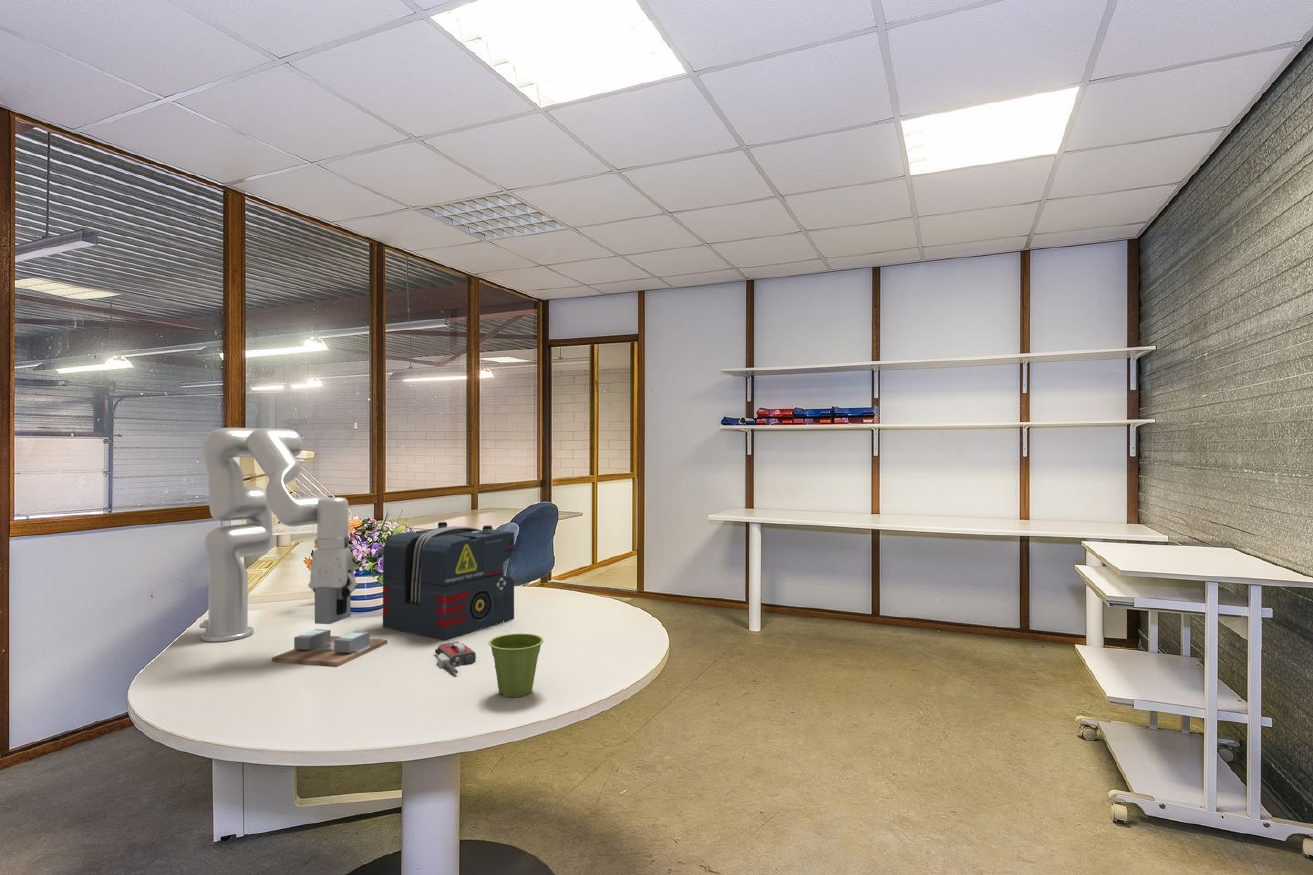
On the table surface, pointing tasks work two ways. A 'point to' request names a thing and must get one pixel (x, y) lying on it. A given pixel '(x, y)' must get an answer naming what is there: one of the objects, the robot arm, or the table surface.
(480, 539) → the power unit
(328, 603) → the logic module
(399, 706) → the table surface
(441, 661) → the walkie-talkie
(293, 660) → the board
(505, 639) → the plant pot
